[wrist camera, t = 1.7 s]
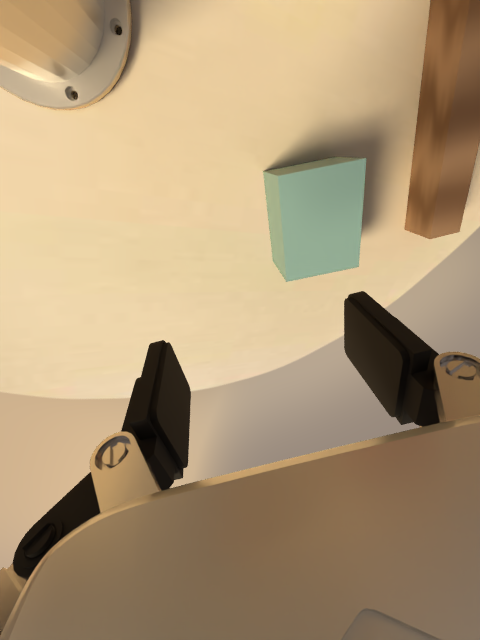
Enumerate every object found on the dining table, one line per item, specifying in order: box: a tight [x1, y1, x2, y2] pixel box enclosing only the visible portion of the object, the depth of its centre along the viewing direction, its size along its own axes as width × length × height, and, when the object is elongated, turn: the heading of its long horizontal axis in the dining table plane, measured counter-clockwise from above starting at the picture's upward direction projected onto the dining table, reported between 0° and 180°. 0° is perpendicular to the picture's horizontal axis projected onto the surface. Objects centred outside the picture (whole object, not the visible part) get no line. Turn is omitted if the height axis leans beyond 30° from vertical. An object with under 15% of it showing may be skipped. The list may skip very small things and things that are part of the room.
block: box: [263, 157, 366, 282], centre depth 26 cm, size 9×7×6 cm
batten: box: [405, 0, 480, 239], centre depth 24 cm, size 20×3×4 cm, turn 12°
